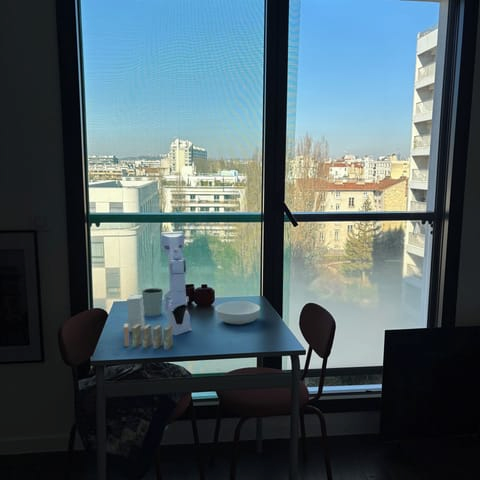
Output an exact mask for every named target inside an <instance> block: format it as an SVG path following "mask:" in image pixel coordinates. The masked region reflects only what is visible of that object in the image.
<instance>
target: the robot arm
mask: <svg viewBox="0 0 480 480" xmlns="http://www.w3.org/2000/svg"><path fill="white" fill-rule="evenodd" d="M160 243H161V245H160V246H161V251H162V252H163V253H166V256H167V262H168V263H167V264H168V277H169V278H168V279H169V280H168V281H169V282H168V283H169V290H167V291H166V292H165V293H164V294H163V310H164V312H165V313H167V326H172V336H178V335H181V334H183V333H186V332H190V331H192V328H191V316H190V313H189V311H188V302H190V300H189V296H187V292H186V274H187V262H186V259H185V258H184V255H183V250H184V246H185V233H184V232H183V231H182V230H181V231H167V232H166V231H162V232H161V233H160Z"/></svg>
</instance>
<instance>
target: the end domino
mask: <svg viewBox="0 0 480 480" xmlns="http://www.w3.org/2000/svg"><path fill="white" fill-rule="evenodd" d="M123 337H124V347H129V346H130V331H129V323H124V325H123Z"/></svg>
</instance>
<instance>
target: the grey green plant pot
mask: <svg viewBox="0 0 480 480" xmlns="http://www.w3.org/2000/svg"><path fill="white" fill-rule="evenodd" d="M163 293H164V290H163V289H162V288H157V287H154V288H145V289H143V290H142V291H141V295H143V308H144V317H157V316H160V315H162V313H163V312H162V309H163V308H162V307H163V297H164V294H163Z"/></svg>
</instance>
